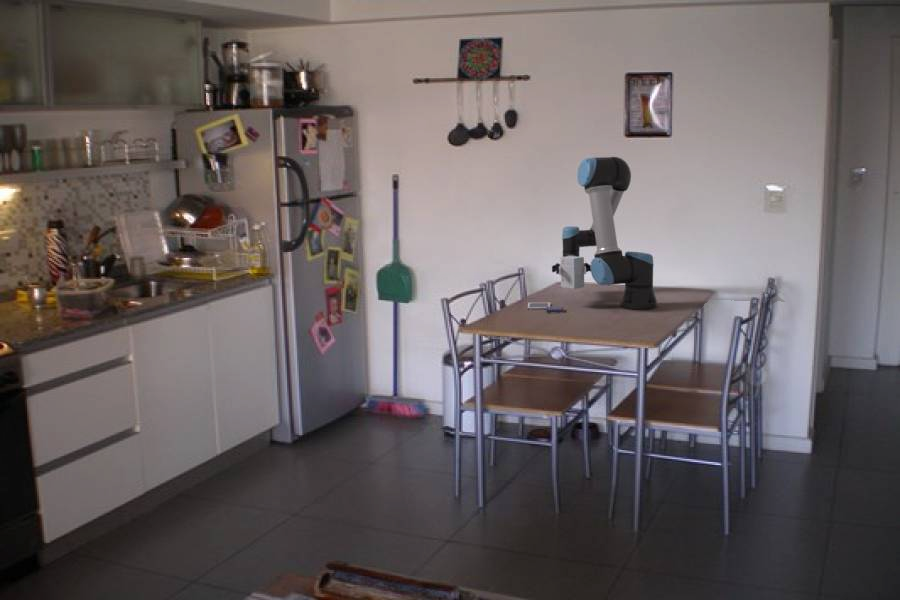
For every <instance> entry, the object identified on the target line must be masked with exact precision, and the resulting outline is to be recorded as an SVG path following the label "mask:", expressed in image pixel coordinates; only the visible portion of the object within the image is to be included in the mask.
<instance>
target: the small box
mask: <svg viewBox="0 0 900 600" xmlns="http://www.w3.org/2000/svg"><path fill="white" fill-rule="evenodd" d="M584 263H585V257H584V256H579V257H576V256H567V257H563V256H561V257H560V265H561V275H560V287H561V288H565V289H572V290H577V289H581V288H585V274H584Z"/></svg>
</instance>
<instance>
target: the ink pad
mask: <svg viewBox="0 0 900 600" xmlns="http://www.w3.org/2000/svg"><path fill="white" fill-rule="evenodd" d="M547 312H548V313H547ZM551 312H557V313H556V314H559V313H558V312H565V311H564V306H550V307H547V310H546V313H547V314H552V313H551Z"/></svg>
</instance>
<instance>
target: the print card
mask: <svg viewBox="0 0 900 600" xmlns="http://www.w3.org/2000/svg"><path fill="white" fill-rule="evenodd" d="M527 303H528V304H527V310H528V309H547V307H551V302H549V301H548V302H527Z"/></svg>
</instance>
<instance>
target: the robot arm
mask: <svg viewBox="0 0 900 600" xmlns="http://www.w3.org/2000/svg"><path fill="white" fill-rule="evenodd" d="M576 176H577V177H576V179H577V183H578V184H579V186H580V187H583V188H584V193H587V195H588V196H589V202H590V203H589V205H590V209H591V216H592V224H591V226H590V228H589V229H585V230H584V229H582V230H580V227H578V226H565V227H562V233H561V235H562V237H561V238H562V239H561V240H562V257H567V256H576V257H580V248H585V247H586V248H587V247H596V252H595V253H594V258H593V259H592V260H591V262H590V264H589V263H588V262H584V275H587V273H588V272H590V274H591V277H592V279H593V280H594V281H595V282H596V283H597V284H598V285H600V286H612V285H620V284H624V291H623V293H622V296H621V299H620V307H621V308H624V309H629V310H651V309H654V308H657V305H658V301H657V297H656V293H655V291H654V287H653V286H654V257H653V255H652V254H651V253H647V252H641V251H640V252H638V251H626V252H624V253H625V254H623V250H622V249H621V248H619V247H618V241H617V235H616V228H615V226H616V225H615V221H614V216H615V213H616V211H617V209H618V206H619V204H620V201H621V199H622V198H623V195H624V193H625V192H626V191H627V190H628V188H629V187H630V184H631V181H632V180H631V179H632V172H631V169H630V167H629V165H628V163H627V162H626V161H625V160H624V159H623V158H621V157H617V156H609V157H606V156H604V157H589V158H585V159H583V160H582V161H580V163H579V166H578V168H577V175H576ZM551 273H556V275H559V276H561V263H558V262H557V263H555V264H553V265H552V266H551Z"/></svg>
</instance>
